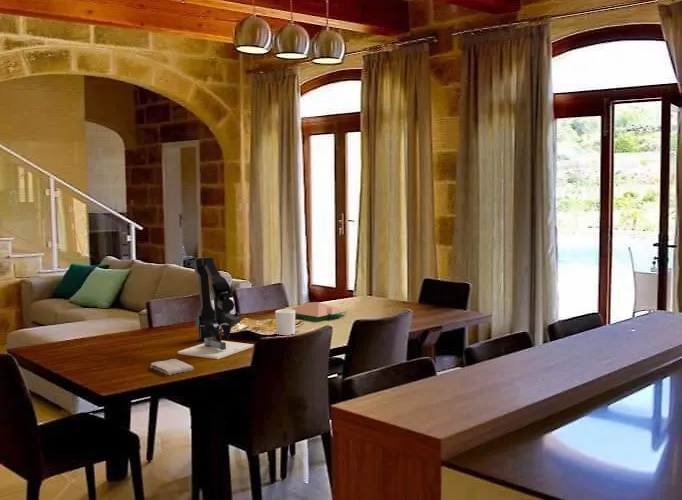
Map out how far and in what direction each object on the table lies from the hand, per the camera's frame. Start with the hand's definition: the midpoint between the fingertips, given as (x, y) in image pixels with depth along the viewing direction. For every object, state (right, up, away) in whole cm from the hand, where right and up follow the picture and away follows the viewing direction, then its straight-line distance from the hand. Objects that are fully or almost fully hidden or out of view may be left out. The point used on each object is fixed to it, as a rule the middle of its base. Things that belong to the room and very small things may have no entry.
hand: (223, 341), depth 329 cm
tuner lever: (-3, -2, -3) cm, 5 cm away
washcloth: (-16, -8, -32) cm, 37 cm away
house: (+40, +5, +72) cm, 82 cm away
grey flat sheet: (-3, -4, -2) cm, 5 cm away
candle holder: (+27, 0, +25) cm, 37 cm away
